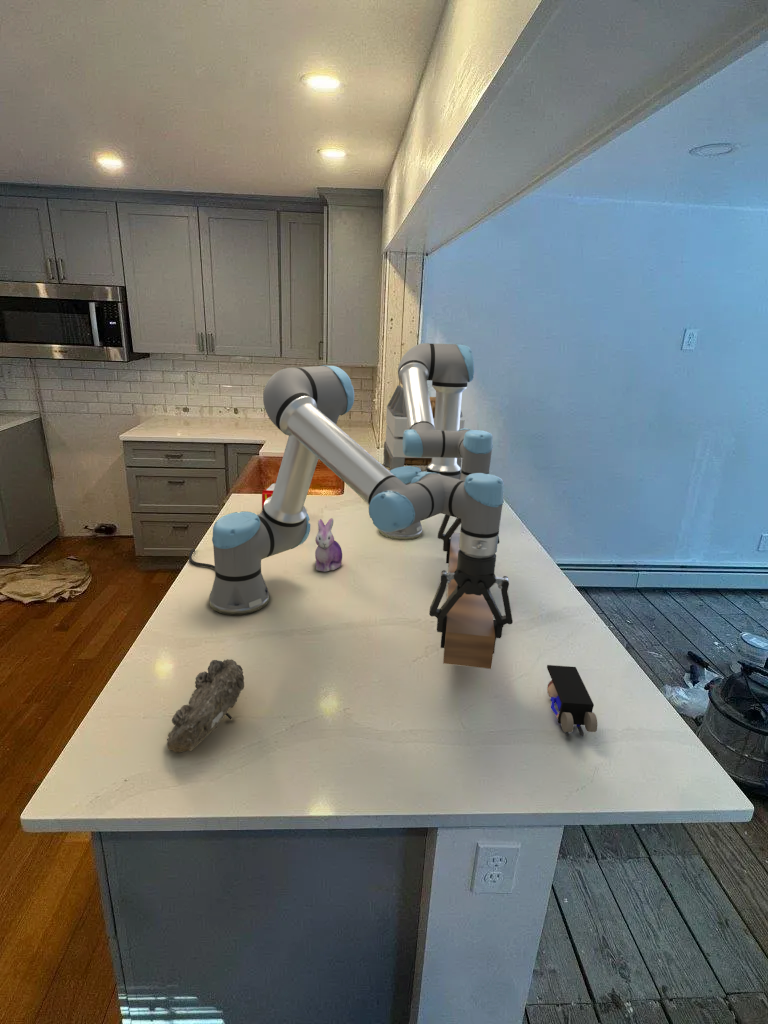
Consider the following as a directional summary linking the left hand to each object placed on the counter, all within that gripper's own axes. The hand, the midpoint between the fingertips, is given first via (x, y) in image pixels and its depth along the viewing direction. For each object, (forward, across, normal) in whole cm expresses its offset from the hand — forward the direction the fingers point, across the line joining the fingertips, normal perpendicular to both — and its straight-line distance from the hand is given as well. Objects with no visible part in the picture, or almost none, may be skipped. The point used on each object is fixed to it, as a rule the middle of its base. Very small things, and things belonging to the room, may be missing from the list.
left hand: (467, 647), depth 121 cm
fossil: (+8, -48, -22) cm, 53 cm away
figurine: (+8, -41, +48) cm, 64 cm away
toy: (+8, -68, +87) cm, 111 cm away
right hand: (0, 0, +43) cm, 43 cm away
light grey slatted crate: (+8, -21, +160) cm, 161 cm away
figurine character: (+8, +20, -9) cm, 24 cm away
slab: (+1, 0, +22) cm, 22 cm away
